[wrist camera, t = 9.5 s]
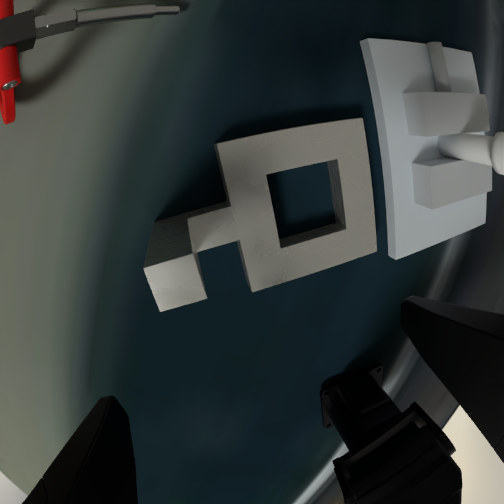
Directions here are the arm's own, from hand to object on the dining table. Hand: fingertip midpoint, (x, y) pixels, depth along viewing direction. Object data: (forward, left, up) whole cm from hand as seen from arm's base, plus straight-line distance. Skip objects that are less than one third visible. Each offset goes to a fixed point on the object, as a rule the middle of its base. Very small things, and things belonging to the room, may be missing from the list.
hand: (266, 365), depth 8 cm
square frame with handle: (+1, -6, -12) cm, 13 cm away
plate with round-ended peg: (+3, -18, -12) cm, 22 cm away
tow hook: (+14, +7, -14) cm, 21 cm away
